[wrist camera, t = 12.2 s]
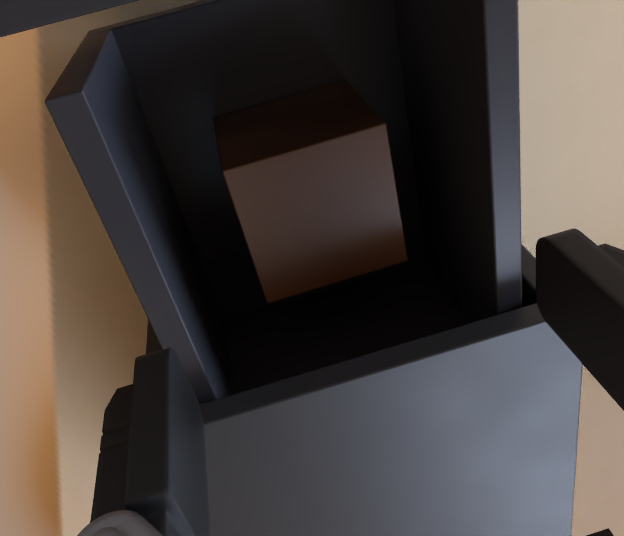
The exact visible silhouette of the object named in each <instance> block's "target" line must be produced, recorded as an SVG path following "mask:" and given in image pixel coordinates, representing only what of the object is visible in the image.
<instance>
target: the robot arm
mask: <svg viewBox="0 0 624 536" xmlns="http://www.w3.org/2000/svg"><path fill="white" fill-rule="evenodd" d="M536 301H537V305H538V308H539V311H540V313H541V315H542V317H543V319H544V320H545V322H546V323H547V324H548V325H549V326H550V327H551V329H552V330H553V331H554V332H555V333H556V334H557V335H558V337H559V338H560V339H561V340H562V341H563V342H564V343H565V345H566V346H567V347H568V348H569V349H570V350H571V351H572V352H573V354H574V355H575V356H576V357H577V358H578V359H579V360H580V362H581V363H582V364H583V365H584V366H585V367H586V368H587V370H588V371H589V372H590V373H591V374H592V375H593V376H594V377H595V379H596V380H597V381H598V382H599V383H600V384H601V385H602V387H603V388H604V389H605V390H606V391H607V392H608V393H609V395H610V396H611V397H612V398H613V399H614V400H615V401H616V402H617V404H618V405H619V406H620V407H621V408H622V409H623V410H624V251H623V250H621V249H618V248H616V247H613V246H610V245H608V244H602V245H599V246H597V245H596V244H595V243H594V242H593V241H591V240H590V239H589V238H588V237H586V236H585V235H584V234H583V233H582V232H580V231H579V230H577V229H570V230H566V231H563V232H560V233H556V234H553V235H550V236H546V237H543V238H540V239H539V240H538V241H537V244H536ZM102 432H103V435H102V436H101V444H100V451H101V453H99V460H98V467H97V475H96V483H95V491H94V499H93V506H92V514H91V520H90V524H88V525H87V526H86V527H85V528H84V529H83V530H82V531H81V532H80V533H79V534H78V535H77V536H211V535H210V519H209V503H208V487H207V470H206V454H205V438H204V424H203V418H202V413H201V409H200V405H199V402H198V400H197V397H196V395H195V393H194V390H193V388H192V386H191V384H190V382H189V380H188V377H187V375H186V373H185V371H184V369H183V367H182V364H181V362H180V360H179V358H178V356H177V354H176V352H175V350H174V349H173V348H172V347H169V348H166V349H163V350H159V351H156V352H153V353H149V354H146V355H143V356H139V357H137V358H136V359H135V366H134V379H133V384H131V385H128V386H125V387H121V388H118V389H117V390H116V392H115V393H114V395H113V397H112V399H111V400H110V402H109V404H108V406H107V407H106V409H105V413H104V421H103V429H102ZM587 536H614V535H613V534H612V533H611V531H610V530H609V528H608V529H605V530H602V531H599V532H596V533H593V534H590V535H587Z"/></svg>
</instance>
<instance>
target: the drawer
mask: <svg viewBox="0 0 624 536" xmlns="http://www.w3.org/2000/svg"><path fill="white" fill-rule="evenodd" d="M135 1H139V0H0V37H3V36H7V35H10V34H15V33H18V32H22V31H26V30H30V29H33V28H37V27H41V26H45V25H48V24H52V23H56V22H60V21H63V20H67V19H71V18H75V17H78V16H82V15H86V14H90V13H93V12H97V11H101V10H105V9H108V8H112V7H116V6H120V5H124V4H127V3H131V2H135ZM341 80H346V81H347V82H348V83H349V84H350V85H351V86H352V87H353V89H354V90H355V91H356V92H357V93H358V94H359V95H360V96H361V97H362V98H363V99H364V100H365V101H366V102H367V104H368V105H369V106H370V107H371V108H372V109H373V110H374V111H375V112H376V113H377V114H378V115H379V116H380V117H381V118H382V120H383V121H384V122H385V123H386V125H387V131H388V137H389V144H390V150H391V156H392V162H393V169H394V175H395V181H396V188H397V194H398V200H399V206H400V213H401V219H402V225H403V232H404V238H405V244H406V250H407V257H408V260H407V261H405V262H402V263H399V264H395V265H392V266H389V267H386V268H382V269H379V270H376V271H372V272H369V273H366V274H363V275H359V276H356V277H353V278H349V279H346V280H343V281H340V282H336V283H333V284H330V285H327V286H323V287H320V288H317V289H313V290H310V291H307V292H304V293H300V294H297V295H294V296H291V297H287V298H284V299H281V300H277V301H274V302H271V303H267V302H266V299H265V296H264V293H263V291H262V288H261V285H260V282H259V279H258V276H257V273H256V270H255V267H254V264H253V261H252V258H251V255H250V252H249V249H248V247H247V244H246V241H245V238H244V235H243V232H242V229H241V226H240V223H239V220H238V217H237V214H236V211H235V208H234V206H233V203H232V200H231V197H230V194H229V191H228V188H227V185H226V182H225V179H224V176H223V173H222V168H221V163H220V157H219V151H218V146H217V140H216V134H215V129H214V123H213V118H214V117H217V116H221V115H224V114H228V113H231V112H235V111H238V110H241V109H245V108H248V107H252V106H255V105H259V104H262V103H265V102H269V101H272V100H276V99H279V98H283V97H286V96H290V95H293V94H296V93H300V92H303V91H307V90H310V89H314V88H317V87H321V86H324V85H327V84H331V83H334V82H338V81H341ZM45 104H46V106H47V108H48V110H49V112H50V114H51V116H52V118H53V120H54V123H55V125H56V127H57V129H58V131H59V133H60V135H61V137H62V139H63V141H64V143H65V145H66V148H67V150H68V152H69V154H70V156H71V158H72V160H73V162H74V164H75V166H76V168H77V171H78V173H79V175H80V177H81V179H82V181H83V183H84V185H85V187H86V189H87V191H88V194H89V196H90V198H91V200H92V202H93V204H94V206H95V208H96V210H97V212H98V214H99V217H100V219H101V221H102V223H103V225H104V227H105V229H106V231H107V233H108V235H109V237H110V240H111V242H112V244H113V246H114V248H115V250H116V252H117V254H118V256H119V258H120V260H121V263H122V265H123V267H124V269H125V271H126V273H127V275H128V277H129V279H130V281H131V283H132V286H133V288H134V290H135V292H136V294H137V296H138V298H139V300H140V302H141V304H142V306H143V309H144V311H145V313H146V315H147V317H148V319H149V321H150V323H151V325H152V327H153V329H154V332H155V334H156V336H157V338H158V340H159V342H160V344H161V346H162V348H163V349H166V348H169V347H172V348H173V349H174V350H175V352H176V354H177V356H178V358H179V360H180V362H181V364H182V367H183V369H184V371H185V373H186V375H187V377H188V380H189V382H190V384H191V386H192V388H193V390H194V393H195V395H196V397H197V400H198V402H199V405H200V404H204V403H207V402H210V401H214V400H217V399H220V398H224V397H227V396H230V395H234V394H237V393H240V392H244V391H247V390H250V389H254V388H257V387H260V386H263V385H267V384H270V383H273V382H277V381H280V380H283V379H287V378H290V377H293V376H297V375H300V374H303V373H307V372H310V371H313V370H317V369H320V368H323V367H326V366H330V365H333V364H336V363H340V362H343V361H346V360H350V359H353V358H356V357H360V356H363V355H366V354H370V353H373V352H376V351H380V350H383V349H386V348H389V347H393V346H396V345H399V344H403V343H406V342H409V341H413V340H416V339H419V338H423V337H426V336H429V335H433V334H436V333H439V332H443V331H446V330H449V329H453V328H456V327H459V326H462V325H466V324H469V323H472V322H476V321H479V320H482V319H486V318H489V317H492V316H496V315H499V314H502V313H506V312H509V311H512V310H516V309H519V308H522V269H521V190H520V111H519V32H518V0H203V1H199V2H196V3H192V4H188V5H184V6H181V7H177V8H173V9H169V10H166V11H162V12H158V13H155V14H151V15H147V16H143V17H140V18H136V19H132V20H128V21H125V22H121V23H117V24H113V25H110V26H106V27H102V28H98V29H95V30H91V31H89V32H88V33H87V35H86V37H85V38H84V39H83V41H82V43H81V44H80V46H79V47H78V49H77V51H76V52H75V54H74V55H73V57H72V58H71V60H70V62H69V63H68V65H67V66H66V68H65V69H64V71H63V73H62V74H61V76H60V77H59V79H58V81H57V82H56V84H55V85H54V87H53V88H52V90H51V92H50V93H49V95H48V96H47V98H46V100H45Z"/></svg>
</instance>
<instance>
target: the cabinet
mask: <svg viewBox="0 0 624 536" xmlns="http://www.w3.org/2000/svg"><path fill="white" fill-rule="evenodd" d="M521 269H522V308H519V309H516V310H512V311H509V312H506V313H502V314H499V315H496V316H492V317H489V318H486V319H482V320H479V321H476V322H472V323H469V324H466V325H462V326H459V327H456V328H453V329H449V330H446V331H443V332H439V333H436V334H433V335H429V336H426V337H423V338H419V339H416V340H413V341H409V342H406V343H403V344H399V345H396V346H393V347H389V348H386V349H383V350H380V351H376V352H373V353H370V354H366V355H363V356H360V357H356V358H353V359H350V360H346V361H343V362H340V363H336V364H333V365H330V366H326V367H323V368H320V369H317V370H313V371H310V372H307V373H303V374H300V375H297V376H293V377H290V378H287V379H283V380H280V381H277V382H273V383H270V384H267V385H263V386H260V387H257V388H254V389H250V390H247V391H244V392H240V393H237V394H234V395H230V396H227V397H224V398H220V399H217V400H214V401H210V402H207V403H204V404H200V409H201V413H202V418H203V424H204V438H205V454H206V470H207V487H208V503H209V519H210V535H211V536H571V530H572V515H573V500H574V485H575V469H576V454H577V439H578V424H579V409H580V394H581V379H582V363H581V362H580V360H579V359H578V358H577V357H576V356H575V355H574V354H573V352H572V351H571V350H570V349H569V348H568V347H567V346H566V345H565V343H564V342H563V341H562V340H561V339H560V338H559V337H558V335H557V334H556V333H555V332H554V331H553V330H552V329H551V327H550V326H549V325H548V324H547V323H546V322H545V320H544V319H543V317H542V315H541V313H540V311H539V308H538V305H537V301H536V258H535V257H534V256H533V255H532V254H531V253H530V252H529V251H528V250H527V249H526V248H525V247H524V246H523V245H522V244H521ZM159 350H163V348H162V346H161V344H160V342H159V340H158V338H157V336H156V334H155V332H154V329H153V327H152V325H151V323H150V321H149V319H148V329H147V346H146V354H149V353H153V352H156V351H159Z"/></svg>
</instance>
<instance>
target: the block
mask: <svg viewBox="0 0 624 536" xmlns="http://www.w3.org/2000/svg"><path fill="white" fill-rule="evenodd" d="M213 123H214V129H215V134H216V140H217V146H218V151H219V157H220V163H221V168H222V173H223V176H224V179H225V182H226V185H227V188H228V191H229V194H230V197H231V200H232V203H233V206H234V208H235V211H236V214H237V217H238V220H239V223H240V226H241V229H242V232H243V235H244V238H245V241H246V244H247V247H248V249H249V252H250V255H251V258H252V261H253V264H254V267H255V270H256V273H257V276H258V279H259V282H260V285H261V288H262V291H263V293H264V296H265V299H266V302H267V303H271V302H274V301H277V300H281V299H284V298H287V297H291V296H294V295H297V294H300V293H304V292H307V291H310V290H313V289H317V288H320V287H323V286H327V285H330V284H333V283H336V282H340V281H343V280H346V279H349V278H353V277H356V276H359V275H363V274H366V273H369V272H372V271H376V270H379V269H382V268H386V267H389V266H392V265H395V264H399V263H402V262H405V261H407V260H408V257H407V250H406V244H405V238H404V232H403V225H402V219H401V213H400V206H399V200H398V194H397V188H396V181H395V175H394V169H393V162H392V156H391V150H390V144H389V137H388V131H387V125H386V123H385V122H384V121H383V120H382V118H381V117H380V116H379V115H378V114H377V113H376V112H375V111H374V110H373V109H372V108H371V107H370V106H369V105H368V104H367V102H366V101H365V100H364V99H363V98H362V97H361V96H360V95H359V94H358V93H357V92H356V91H355V90H354V89H353V87H352V86H351V85H350V84H349V83H348V82H347V81H346V80H341V81H338V82H334V83H331V84H327V85H324V86H321V87H317V88H314V89H310V90H307V91H303V92H300V93H296V94H293V95H290V96H286V97H283V98H279V99H276V100H272V101H269V102H265V103H262V104H259V105H255V106H252V107H248V108H245V109H241V110H238V111H235V112H231V113H228V114H224V115H221V116H217V117H214V118H213Z"/></svg>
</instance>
